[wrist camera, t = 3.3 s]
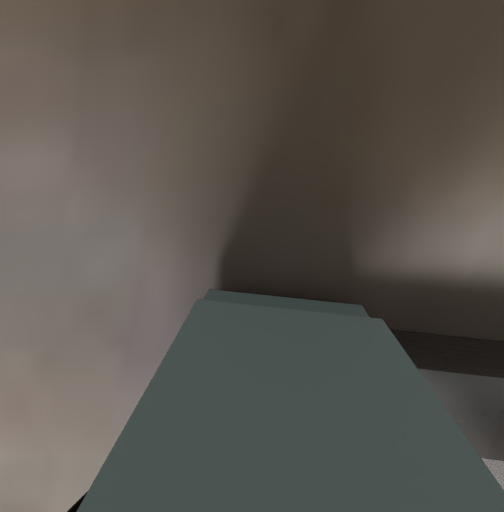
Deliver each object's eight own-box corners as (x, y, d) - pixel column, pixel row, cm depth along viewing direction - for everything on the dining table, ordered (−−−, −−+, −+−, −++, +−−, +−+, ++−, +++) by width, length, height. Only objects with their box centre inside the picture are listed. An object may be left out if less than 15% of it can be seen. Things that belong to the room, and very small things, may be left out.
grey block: (364, 293, 9) (689, 753, 2) (333, 435, 11) (443, 936, 4) (209, 278, 9) (2, 640, 2) (204, 420, 11) (83, 865, 4)
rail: (682, 361, 10) (953, 490, 6) (638, 429, 10) (845, 579, 7) (211, 310, 10) (174, 396, 6) (208, 378, 11) (175, 488, 7)
